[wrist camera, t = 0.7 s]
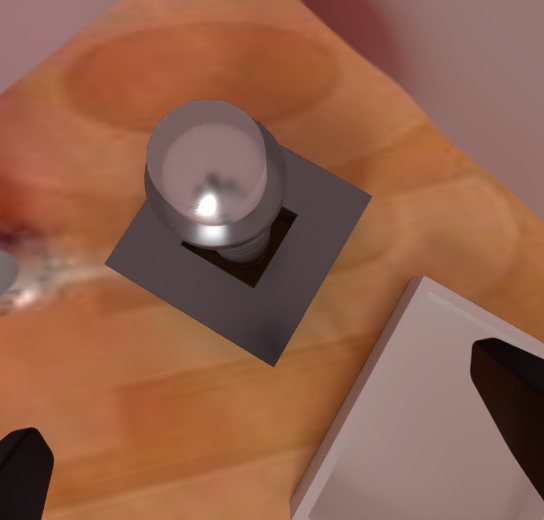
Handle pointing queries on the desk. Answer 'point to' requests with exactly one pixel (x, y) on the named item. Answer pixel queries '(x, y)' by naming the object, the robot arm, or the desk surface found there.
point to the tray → (420, 425)
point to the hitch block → (276, 278)
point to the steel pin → (216, 179)
